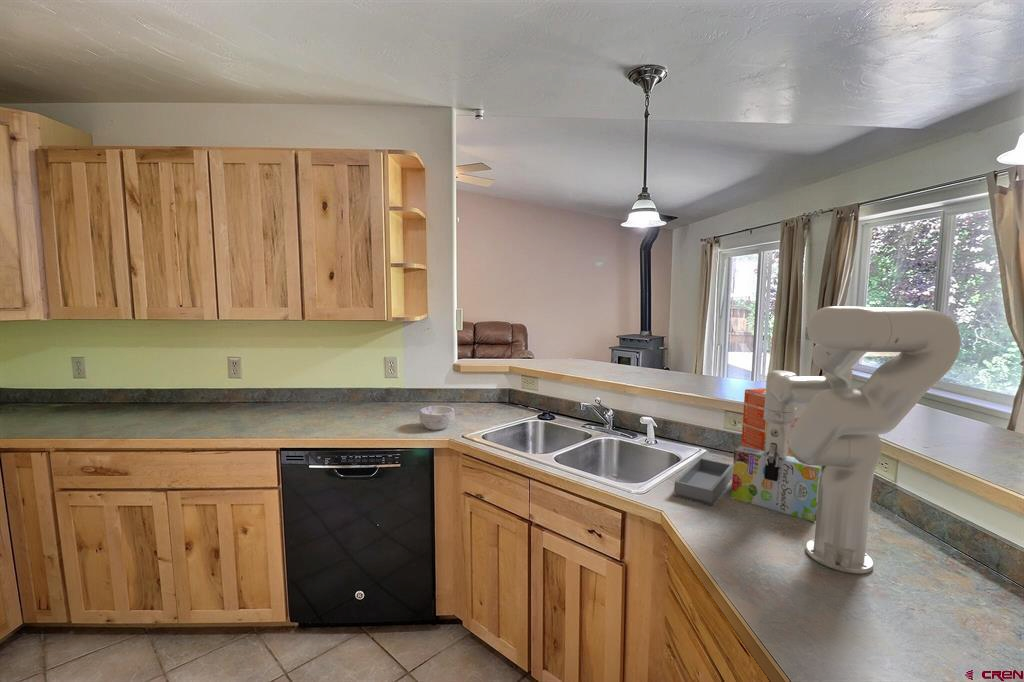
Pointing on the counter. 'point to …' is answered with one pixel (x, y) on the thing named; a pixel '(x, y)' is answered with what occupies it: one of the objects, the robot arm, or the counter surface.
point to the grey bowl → (436, 417)
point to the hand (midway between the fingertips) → (773, 473)
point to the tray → (703, 481)
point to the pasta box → (759, 419)
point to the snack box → (776, 484)
